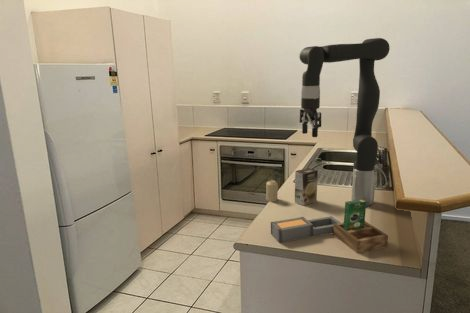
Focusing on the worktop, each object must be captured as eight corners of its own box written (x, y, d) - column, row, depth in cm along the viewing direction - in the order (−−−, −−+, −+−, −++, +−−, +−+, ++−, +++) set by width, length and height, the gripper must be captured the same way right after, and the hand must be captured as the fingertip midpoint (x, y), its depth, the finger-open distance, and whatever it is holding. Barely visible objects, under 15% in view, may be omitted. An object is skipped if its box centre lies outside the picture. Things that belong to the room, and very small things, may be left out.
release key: (301, 229, 144) (301, 219, 143) (306, 234, 139) (307, 223, 138) (276, 233, 141) (276, 223, 140) (281, 238, 136) (281, 228, 135)
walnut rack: (361, 229, 143) (362, 219, 142) (387, 246, 129) (388, 235, 128) (333, 234, 139) (333, 224, 138) (356, 253, 126) (357, 241, 124)
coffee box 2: (359, 229, 140) (361, 198, 137) (364, 232, 137) (366, 200, 134) (342, 232, 138) (344, 201, 134) (347, 236, 135) (348, 204, 132)
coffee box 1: (303, 206, 168) (304, 174, 164) (294, 202, 173) (294, 170, 169) (317, 201, 173) (318, 170, 169) (307, 198, 178) (308, 167, 174)
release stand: (331, 222, 150) (331, 211, 149) (342, 231, 142) (343, 219, 141) (270, 233, 142) (270, 221, 141) (279, 243, 134) (279, 231, 133)
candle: (266, 197, 181) (266, 178, 178) (277, 197, 180) (277, 179, 177) (266, 201, 175) (266, 182, 173) (277, 201, 175) (277, 182, 172)
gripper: (294, 96, 152) (294, 133, 156) (311, 98, 139) (310, 139, 143) (310, 95, 154) (309, 131, 158) (327, 97, 141) (326, 137, 145)
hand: (309, 135), depth 151 cm, fingers open, 8 cm apart
